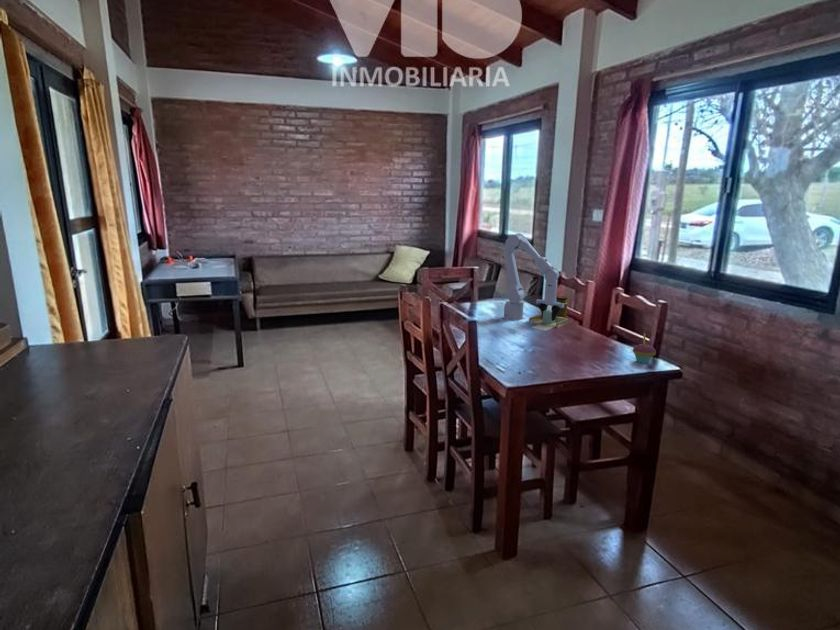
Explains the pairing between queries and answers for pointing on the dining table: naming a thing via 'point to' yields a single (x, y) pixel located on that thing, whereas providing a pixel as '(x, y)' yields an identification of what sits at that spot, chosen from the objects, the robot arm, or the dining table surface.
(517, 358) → the dining table surface
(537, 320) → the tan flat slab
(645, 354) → the cupcake
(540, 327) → the coaster
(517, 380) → the dining table surface
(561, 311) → the condiment
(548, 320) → the block
